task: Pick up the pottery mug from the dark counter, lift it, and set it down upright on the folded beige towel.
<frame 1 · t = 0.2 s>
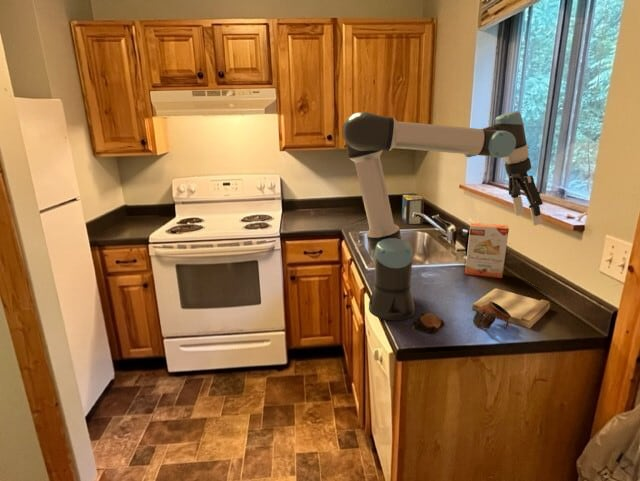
hand: (528, 219, 135), 28 cm above the worktop, tool tilted 20°, fingers open, 13 cm apart
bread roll: (428, 326, 122), on the worktop
cracker box: (483, 274, 160), on the worktop
pottery mug: (489, 327, 120), on the worktop
folded beige towel: (510, 309, 130), on the worktop
protein box: (411, 221, 246), on the worktop
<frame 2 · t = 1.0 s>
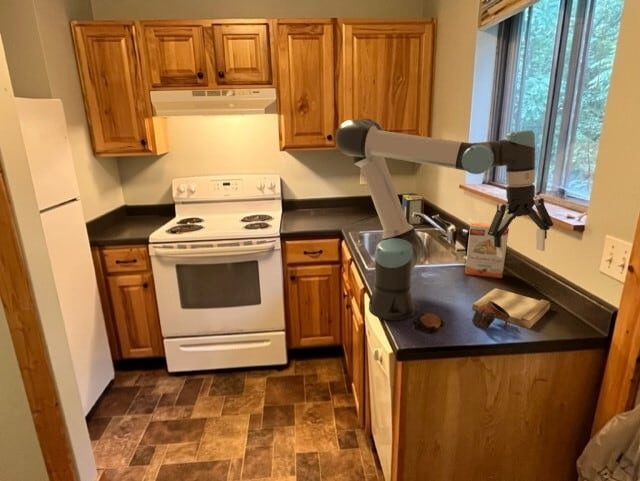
hand: (520, 253, 121), 21 cm above the worktop, tool pointing down, fingers open, 13 cm apart
nothing on the worktop moved.
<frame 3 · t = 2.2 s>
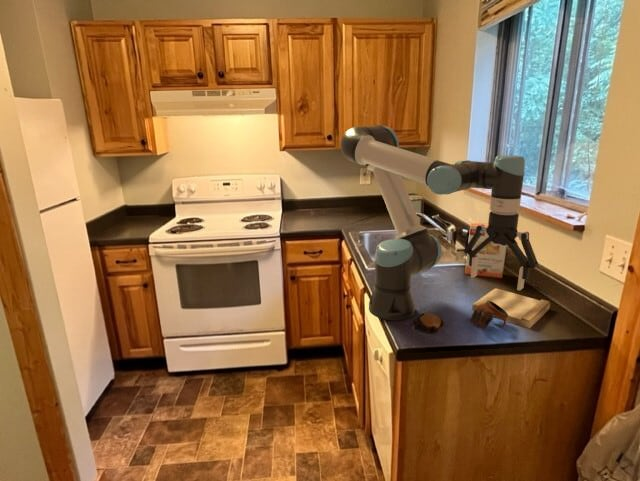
hand: (495, 282, 115), 15 cm above the worktop, tool pointing down, fingers open, 13 cm apart
nothing on the worktop moved.
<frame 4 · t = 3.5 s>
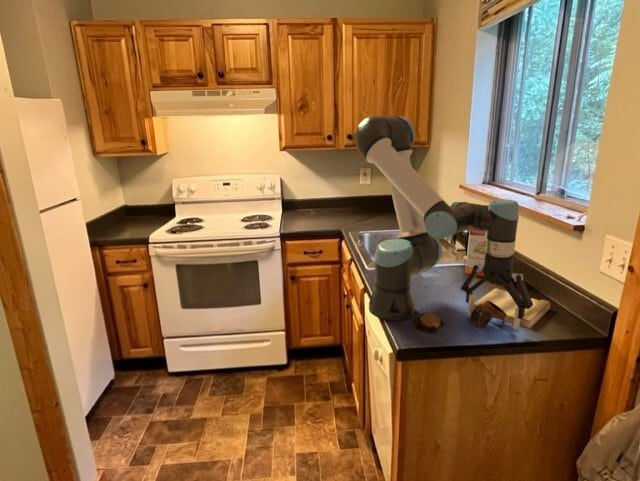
hand: (492, 320, 119), 2 cm above the worktop, tool pointing down, fingers open, 13 cm apart
pottery mug: (485, 326, 121), on the worktop, touching gripper
everything else where it was.
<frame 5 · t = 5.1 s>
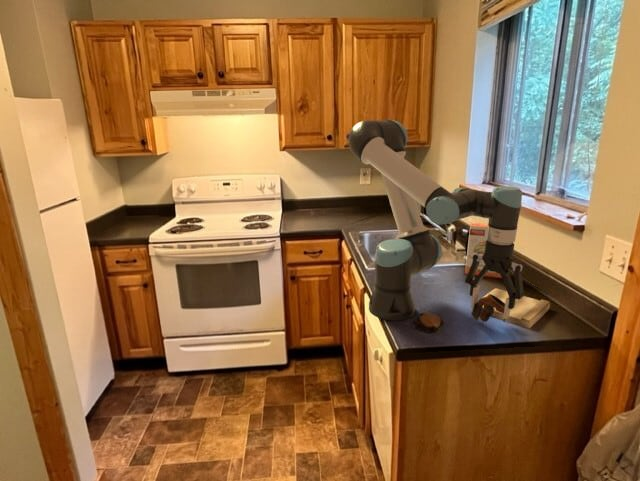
hand: (489, 311, 119), 5 cm above the worktop, tool pointing down, fingers closed on pottery mug, 9 cm apart
pottery mug: (487, 319, 120), point 2 cm above the worktop, touching gripper
everything else where it was.
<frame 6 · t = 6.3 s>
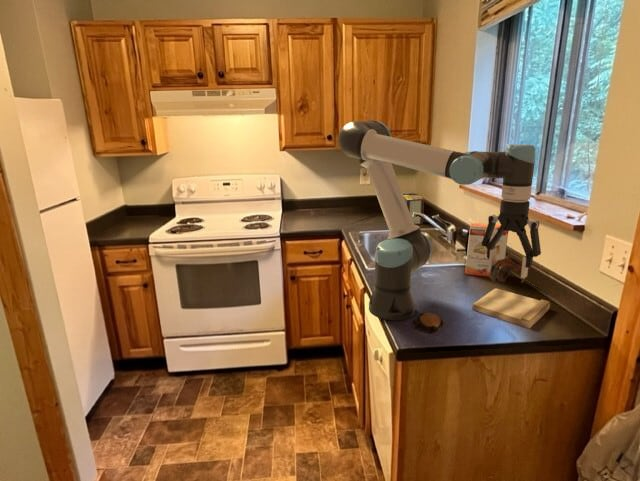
hand: (507, 272, 119), 16 cm above the worktop, tool pointing down, fingers closed on pottery mug, 9 cm apart
pottery mug: (505, 281, 120), point 13 cm above the worktop, touching gripper
everything else where it was.
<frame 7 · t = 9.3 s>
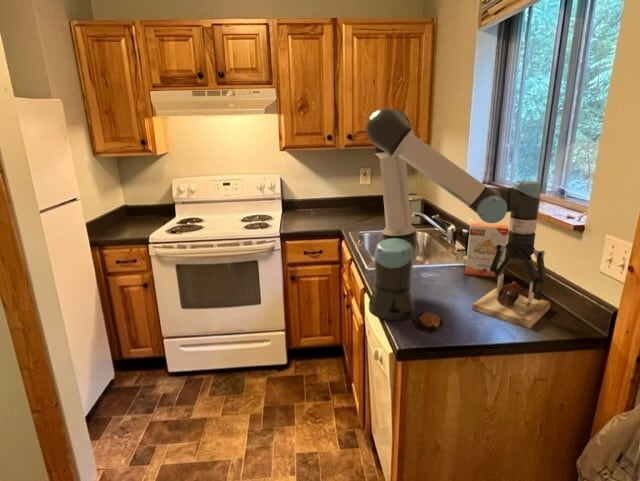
hand: (514, 296, 129), 5 cm above the worktop, tool pointing down, fingers closed on pottery mug, 9 cm apart
pottery mug: (512, 304, 129), point 2 cm above the worktop, touching gripper, folded beige towel
everything else where it was.
when the fingers open (5 cm above the worktop, at t = 9.4 s): pottery mug stays where it is, resting on folded beige towel.
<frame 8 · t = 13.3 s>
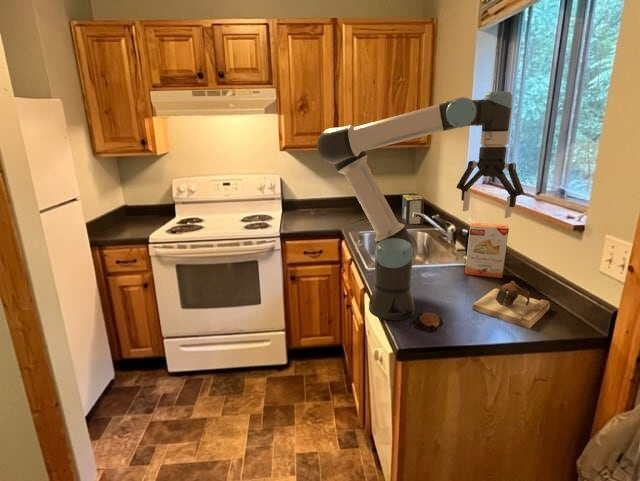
hand: (485, 213, 125), 32 cm above the worktop, tool pointing down, fingers open, 13 cm apart
pottery mug: (511, 304, 130), point 2 cm above the worktop, touching folded beige towel
everything else where it was.
at the end: pottery mug inside the target area on the folded beige towel (0.1 cm from its centre), point 1.8 cm above the folded beige towel's base; pottery mug tilted 0°; the gripper is holding nothing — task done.
